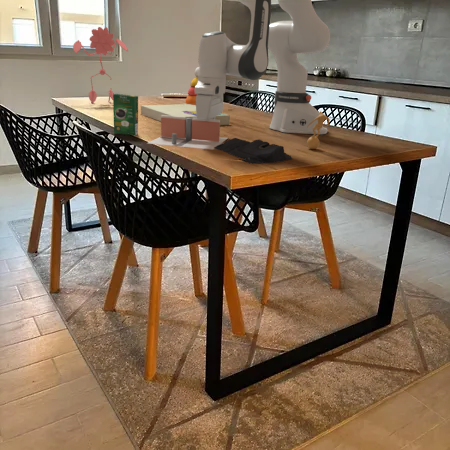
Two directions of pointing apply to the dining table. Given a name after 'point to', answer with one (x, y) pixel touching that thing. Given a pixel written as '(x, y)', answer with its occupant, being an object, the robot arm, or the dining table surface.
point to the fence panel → (206, 129)
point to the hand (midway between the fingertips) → (209, 130)
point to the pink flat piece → (176, 126)
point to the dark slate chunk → (254, 151)
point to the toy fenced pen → (187, 142)
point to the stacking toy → (192, 90)
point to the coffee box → (125, 114)
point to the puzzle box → (177, 112)
